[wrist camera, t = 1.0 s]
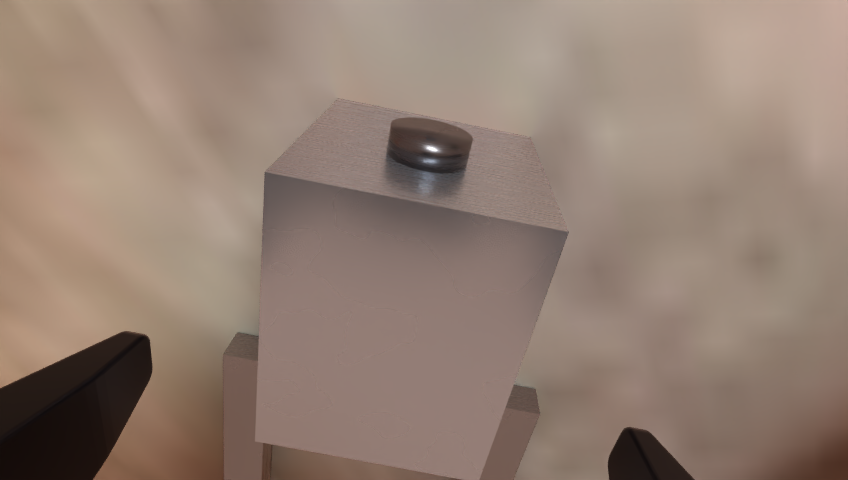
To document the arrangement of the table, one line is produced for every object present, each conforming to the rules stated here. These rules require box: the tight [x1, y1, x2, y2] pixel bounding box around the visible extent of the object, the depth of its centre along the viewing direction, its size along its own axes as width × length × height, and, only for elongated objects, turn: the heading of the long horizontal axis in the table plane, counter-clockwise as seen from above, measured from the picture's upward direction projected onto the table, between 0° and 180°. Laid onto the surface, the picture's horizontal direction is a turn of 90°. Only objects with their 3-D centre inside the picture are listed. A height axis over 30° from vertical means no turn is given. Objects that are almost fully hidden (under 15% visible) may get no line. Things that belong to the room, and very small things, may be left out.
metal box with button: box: [255, 98, 569, 480], centre depth 13 cm, size 6×8×6 cm
